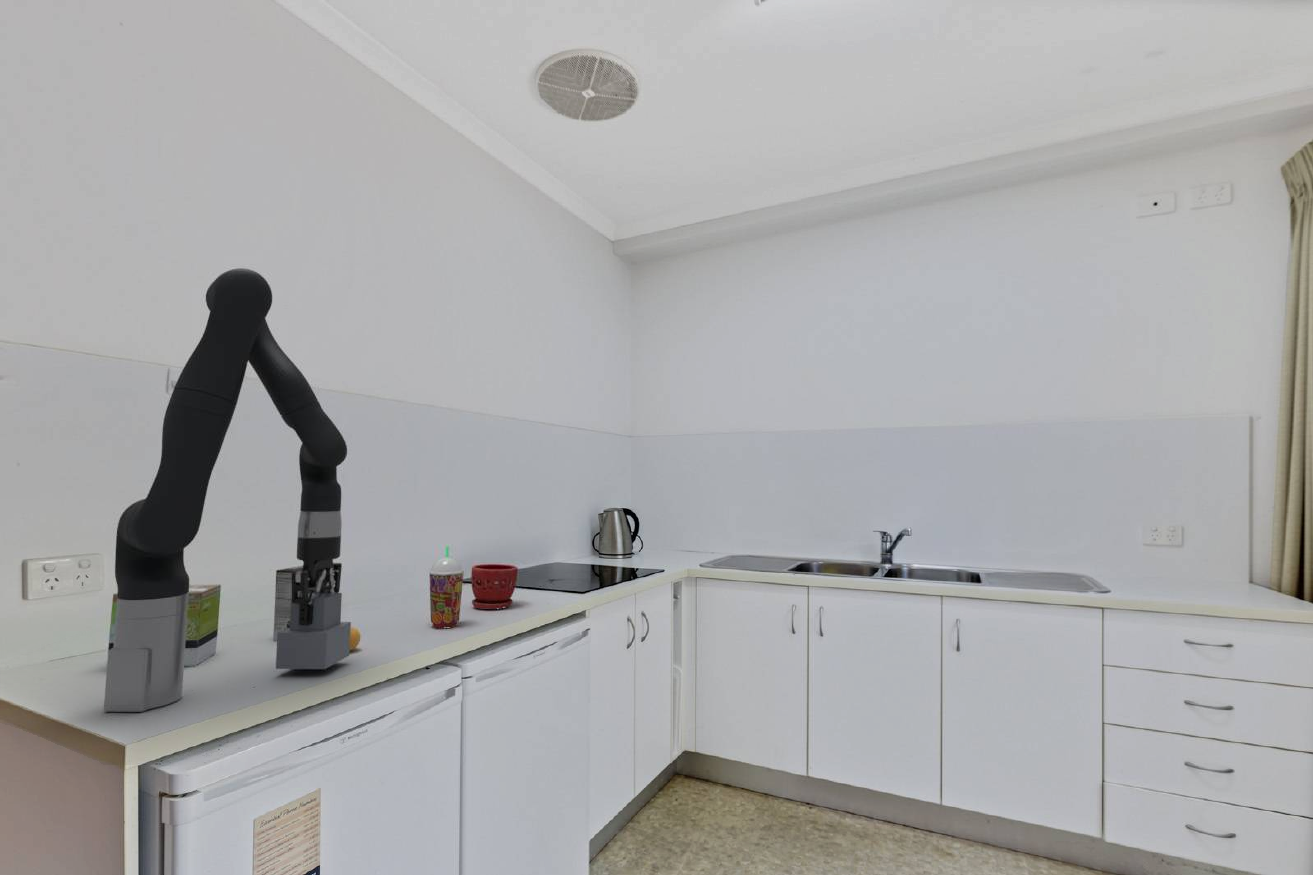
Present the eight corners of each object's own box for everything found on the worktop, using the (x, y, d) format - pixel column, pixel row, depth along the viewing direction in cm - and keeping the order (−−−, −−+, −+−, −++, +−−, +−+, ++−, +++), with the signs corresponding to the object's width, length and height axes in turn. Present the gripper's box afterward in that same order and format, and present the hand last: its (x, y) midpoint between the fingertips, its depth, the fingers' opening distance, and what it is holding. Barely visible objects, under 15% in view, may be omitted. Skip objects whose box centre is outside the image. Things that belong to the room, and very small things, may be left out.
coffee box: (302, 631, 150) (305, 564, 152) (325, 633, 149) (328, 565, 150) (271, 641, 141) (275, 569, 143) (295, 642, 140) (299, 570, 141)
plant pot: (483, 613, 173) (484, 570, 174) (462, 606, 183) (463, 565, 184) (524, 607, 182) (525, 566, 183) (502, 601, 192) (503, 562, 192)
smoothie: (420, 628, 154) (423, 547, 156) (439, 621, 162) (442, 544, 164) (450, 631, 152) (453, 548, 154) (468, 623, 160) (470, 545, 162)
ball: (353, 654, 131) (354, 630, 131) (329, 654, 131) (330, 629, 131) (364, 648, 136) (365, 624, 136) (341, 648, 136) (342, 624, 136)
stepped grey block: (325, 669, 115) (328, 600, 116) (275, 668, 115) (279, 599, 116) (349, 655, 125) (352, 591, 126) (303, 655, 125) (306, 591, 126)
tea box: (104, 672, 117) (110, 593, 118) (133, 658, 127) (138, 584, 128) (196, 667, 121) (201, 590, 123) (217, 653, 131) (222, 582, 132)
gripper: (319, 537, 115) (314, 630, 113) (356, 531, 129) (352, 613, 128) (278, 537, 115) (273, 629, 113) (320, 531, 129) (316, 613, 128)
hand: (315, 620), depth 121 cm, fingers closed on stepped grey block, 6 cm apart
